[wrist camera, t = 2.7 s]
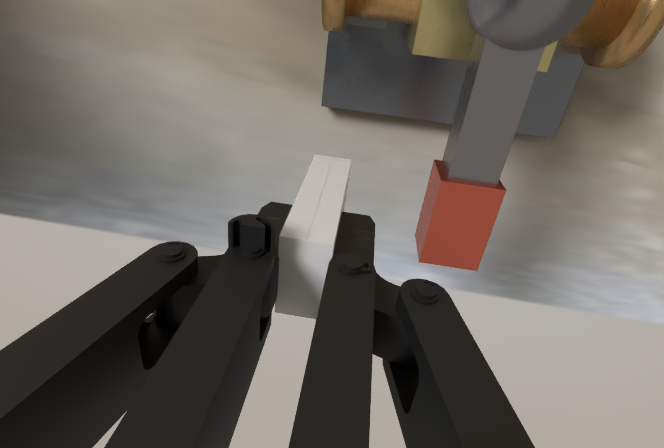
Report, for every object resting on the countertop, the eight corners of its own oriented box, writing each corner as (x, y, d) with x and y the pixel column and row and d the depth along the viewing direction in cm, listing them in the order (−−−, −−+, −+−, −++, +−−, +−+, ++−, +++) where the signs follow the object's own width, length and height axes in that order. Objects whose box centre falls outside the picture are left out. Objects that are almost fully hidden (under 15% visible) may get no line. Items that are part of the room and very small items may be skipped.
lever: (476, -91, 14) (493, -106, 12) (594, -77, 14) (633, -90, 12) (401, 232, 20) (403, 259, 18) (481, 244, 20) (492, 273, 18)
